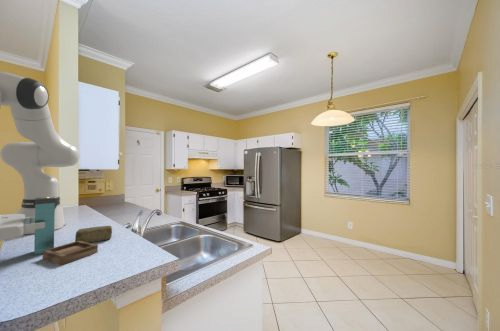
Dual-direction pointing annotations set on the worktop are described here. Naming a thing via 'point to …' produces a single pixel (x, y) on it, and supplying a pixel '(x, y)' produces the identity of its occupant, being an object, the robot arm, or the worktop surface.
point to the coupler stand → (69, 252)
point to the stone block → (94, 234)
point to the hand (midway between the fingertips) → (44, 221)
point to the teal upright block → (45, 214)
